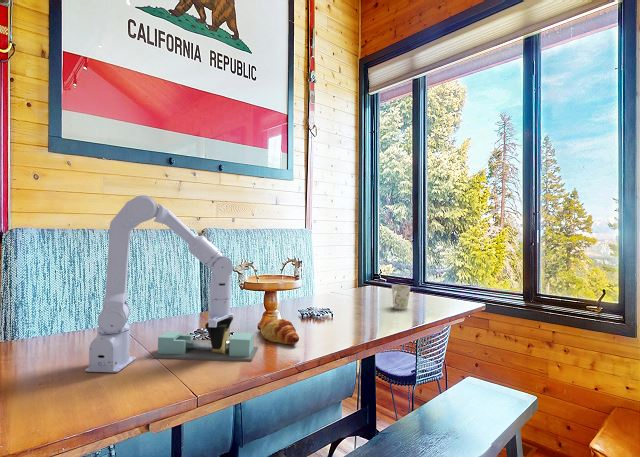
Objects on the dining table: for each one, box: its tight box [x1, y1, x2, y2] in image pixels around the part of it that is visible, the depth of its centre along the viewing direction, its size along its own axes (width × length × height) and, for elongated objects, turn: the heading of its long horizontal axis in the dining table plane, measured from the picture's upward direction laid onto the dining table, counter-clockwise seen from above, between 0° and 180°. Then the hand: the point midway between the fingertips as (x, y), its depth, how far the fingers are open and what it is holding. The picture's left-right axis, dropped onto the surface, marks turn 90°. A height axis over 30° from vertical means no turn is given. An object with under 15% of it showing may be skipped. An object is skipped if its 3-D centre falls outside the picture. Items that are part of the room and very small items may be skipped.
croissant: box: [260, 318, 300, 345], centre depth 121 cm, size 21×10×8 cm, turn 39°
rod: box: [186, 327, 231, 354], centre depth 105 cm, size 16×5×6 cm, turn 90°
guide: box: [153, 330, 259, 362], centre depth 105 cm, size 26×10×5 cm, turn 90°
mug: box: [391, 284, 411, 311], centre depth 168 cm, size 8×13×10 cm, turn 148°
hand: (219, 345), depth 105 cm, fingers closed on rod, 4 cm apart
